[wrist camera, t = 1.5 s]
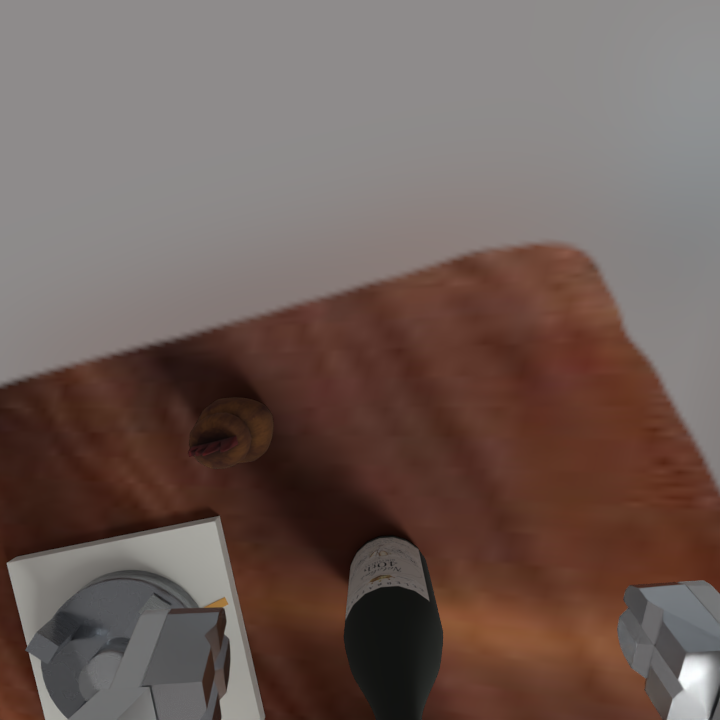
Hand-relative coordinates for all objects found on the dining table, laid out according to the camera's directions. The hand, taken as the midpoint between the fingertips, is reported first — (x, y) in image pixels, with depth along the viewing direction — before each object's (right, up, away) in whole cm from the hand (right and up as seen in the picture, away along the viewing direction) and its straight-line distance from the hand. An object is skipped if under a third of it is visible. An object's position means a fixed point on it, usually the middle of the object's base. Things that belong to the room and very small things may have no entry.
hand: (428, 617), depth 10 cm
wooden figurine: (-13, -1, +42) cm, 44 cm away
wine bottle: (+2, -16, +43) cm, 46 cm away
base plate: (-24, -24, +43) cm, 55 cm away
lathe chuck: (-24, -24, +42) cm, 54 cm away
